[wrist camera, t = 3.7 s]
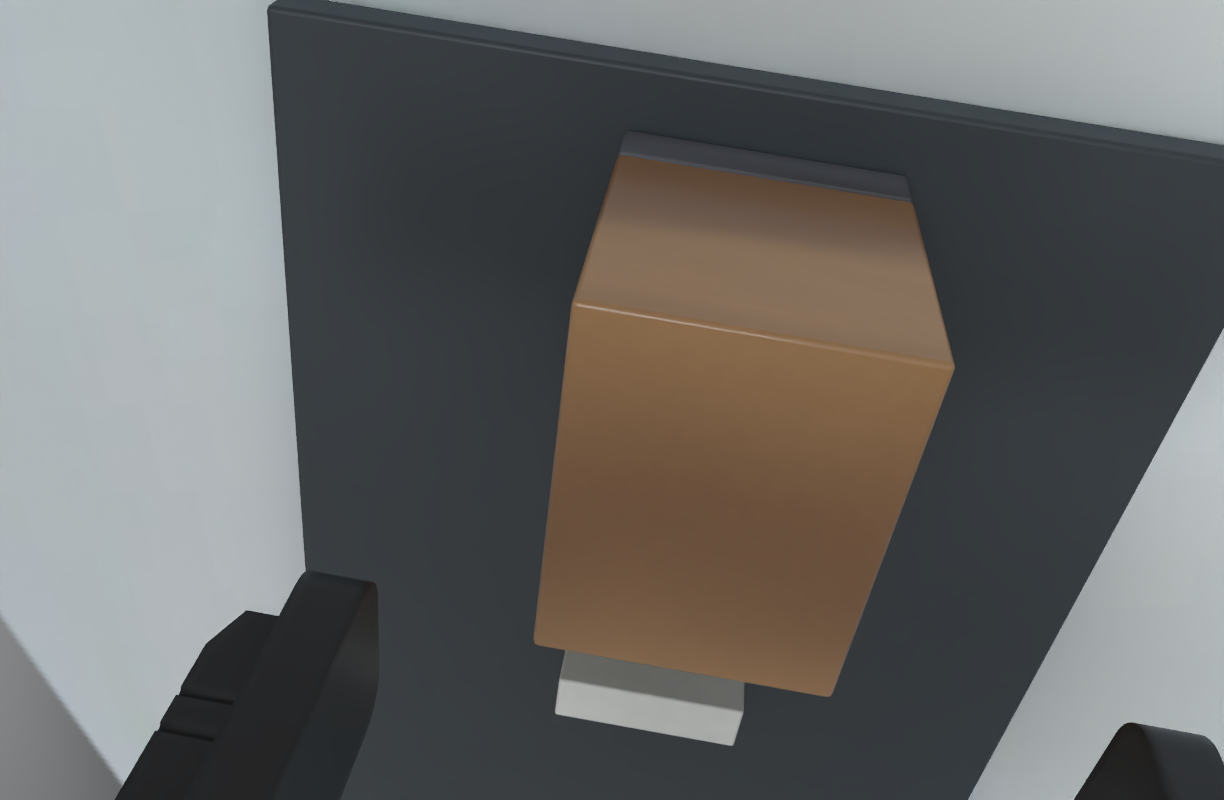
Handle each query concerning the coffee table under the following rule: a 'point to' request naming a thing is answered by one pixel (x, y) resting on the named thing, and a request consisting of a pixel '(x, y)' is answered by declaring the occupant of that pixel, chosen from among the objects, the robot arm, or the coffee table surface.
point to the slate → (534, 366)
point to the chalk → (650, 698)
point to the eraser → (738, 412)
